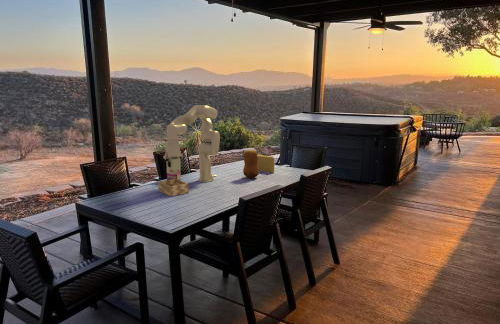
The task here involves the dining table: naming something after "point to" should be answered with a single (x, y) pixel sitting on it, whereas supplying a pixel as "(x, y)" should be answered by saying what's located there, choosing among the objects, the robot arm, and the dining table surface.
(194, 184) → the dining table surface
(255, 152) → the butternut squash
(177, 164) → the small crate
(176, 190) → the wicker basket
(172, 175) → the candy bar box
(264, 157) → the cheese
